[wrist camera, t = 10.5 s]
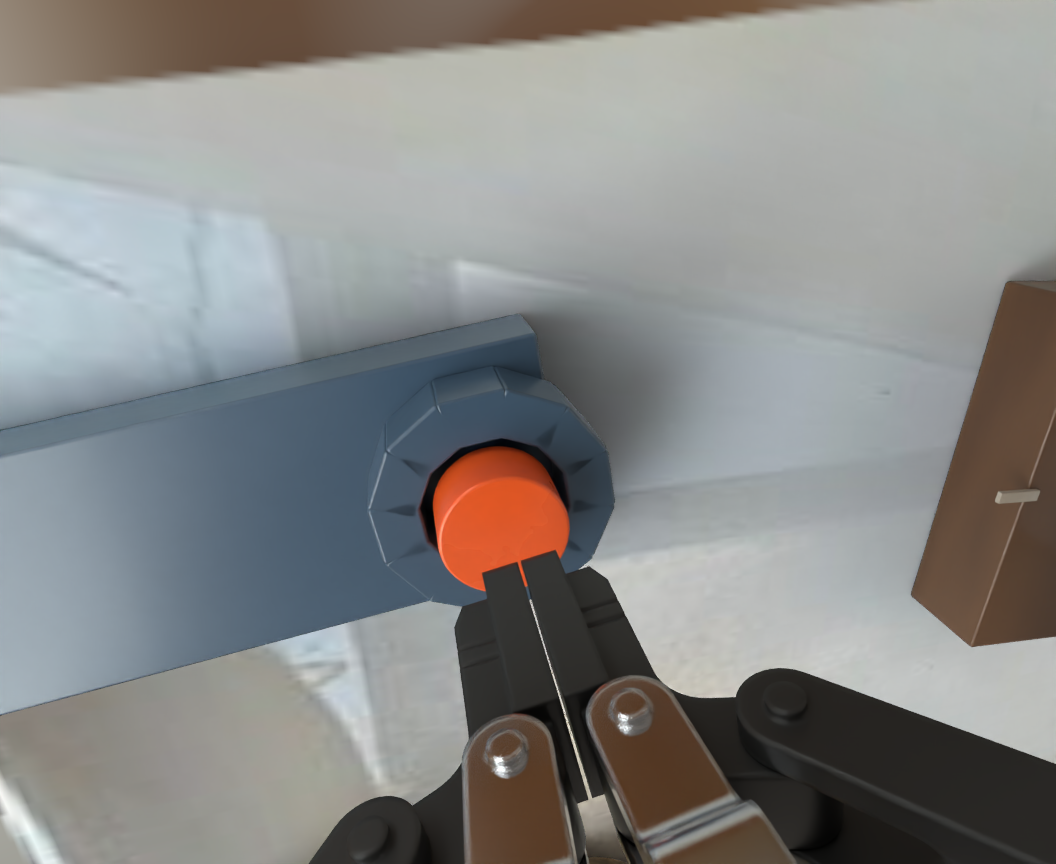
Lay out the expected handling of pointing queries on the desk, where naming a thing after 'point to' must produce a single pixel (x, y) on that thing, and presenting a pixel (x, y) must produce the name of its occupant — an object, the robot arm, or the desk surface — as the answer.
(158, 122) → the desk surface
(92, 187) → the desk surface
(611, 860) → the fossilized seashell
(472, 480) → the button
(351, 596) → the button box
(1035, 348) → the panel
